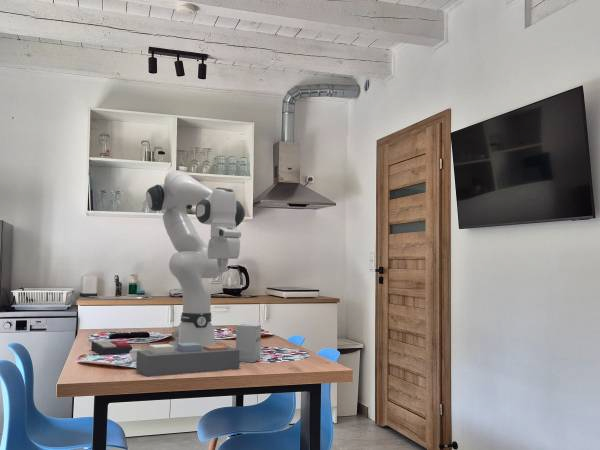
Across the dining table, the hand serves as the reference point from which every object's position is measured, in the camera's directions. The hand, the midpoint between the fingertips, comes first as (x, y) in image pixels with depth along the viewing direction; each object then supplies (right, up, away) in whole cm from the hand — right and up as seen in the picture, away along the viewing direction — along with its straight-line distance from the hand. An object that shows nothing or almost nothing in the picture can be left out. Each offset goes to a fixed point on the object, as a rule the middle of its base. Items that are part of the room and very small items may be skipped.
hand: (222, 271), depth 199 cm
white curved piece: (-29, -31, -6) cm, 43 cm away
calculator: (-44, -32, +15) cm, 57 cm away
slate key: (-8, -26, -18) cm, 33 cm away
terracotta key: (-1, -28, -14) cm, 31 cm away
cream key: (-16, -26, -23) cm, 38 cm away
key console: (-8, -30, -19) cm, 36 cm away
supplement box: (+9, -32, +1) cm, 33 cm away
